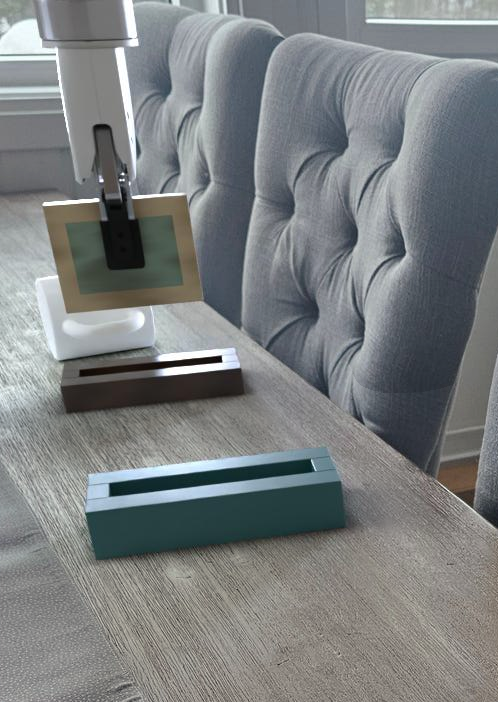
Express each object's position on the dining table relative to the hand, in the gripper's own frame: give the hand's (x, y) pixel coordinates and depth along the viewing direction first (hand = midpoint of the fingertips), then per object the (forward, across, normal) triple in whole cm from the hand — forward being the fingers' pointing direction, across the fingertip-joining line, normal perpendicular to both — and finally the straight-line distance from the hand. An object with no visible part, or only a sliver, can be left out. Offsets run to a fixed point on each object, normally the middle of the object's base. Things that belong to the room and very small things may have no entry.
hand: (126, 264), depth 99 cm
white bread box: (+12, -14, -4) cm, 19 cm away
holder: (+12, +32, +5) cm, 34 cm away
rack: (+12, 0, +1) cm, 12 cm away
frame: (+4, 0, 0) cm, 4 cm away
